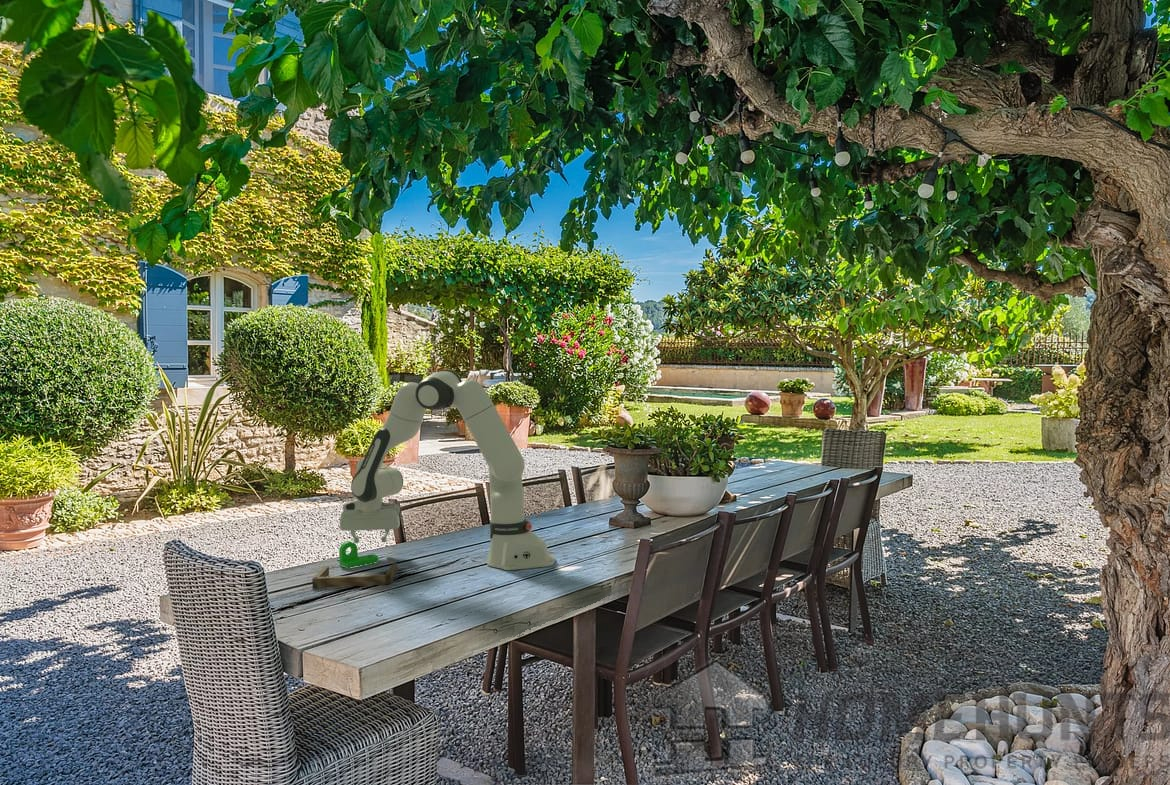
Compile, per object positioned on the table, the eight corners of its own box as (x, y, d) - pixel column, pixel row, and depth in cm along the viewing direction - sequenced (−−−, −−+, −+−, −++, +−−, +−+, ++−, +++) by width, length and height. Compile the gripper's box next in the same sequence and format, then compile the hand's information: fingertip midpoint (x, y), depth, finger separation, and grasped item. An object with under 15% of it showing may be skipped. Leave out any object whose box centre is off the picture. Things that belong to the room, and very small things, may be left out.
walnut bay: (397, 572, 243) (397, 563, 243) (390, 585, 230) (390, 575, 229) (324, 575, 241) (323, 566, 241) (312, 588, 228) (312, 578, 227)
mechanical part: (347, 570, 248) (347, 546, 248) (339, 566, 252) (339, 542, 252) (381, 562, 256) (380, 539, 256) (373, 559, 261) (372, 536, 260)
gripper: (401, 500, 269) (401, 539, 269) (342, 502, 267) (343, 541, 268) (398, 504, 263) (399, 543, 263) (338, 505, 261) (339, 545, 261)
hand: (370, 542), depth 265 cm, fingers open, 8 cm apart
